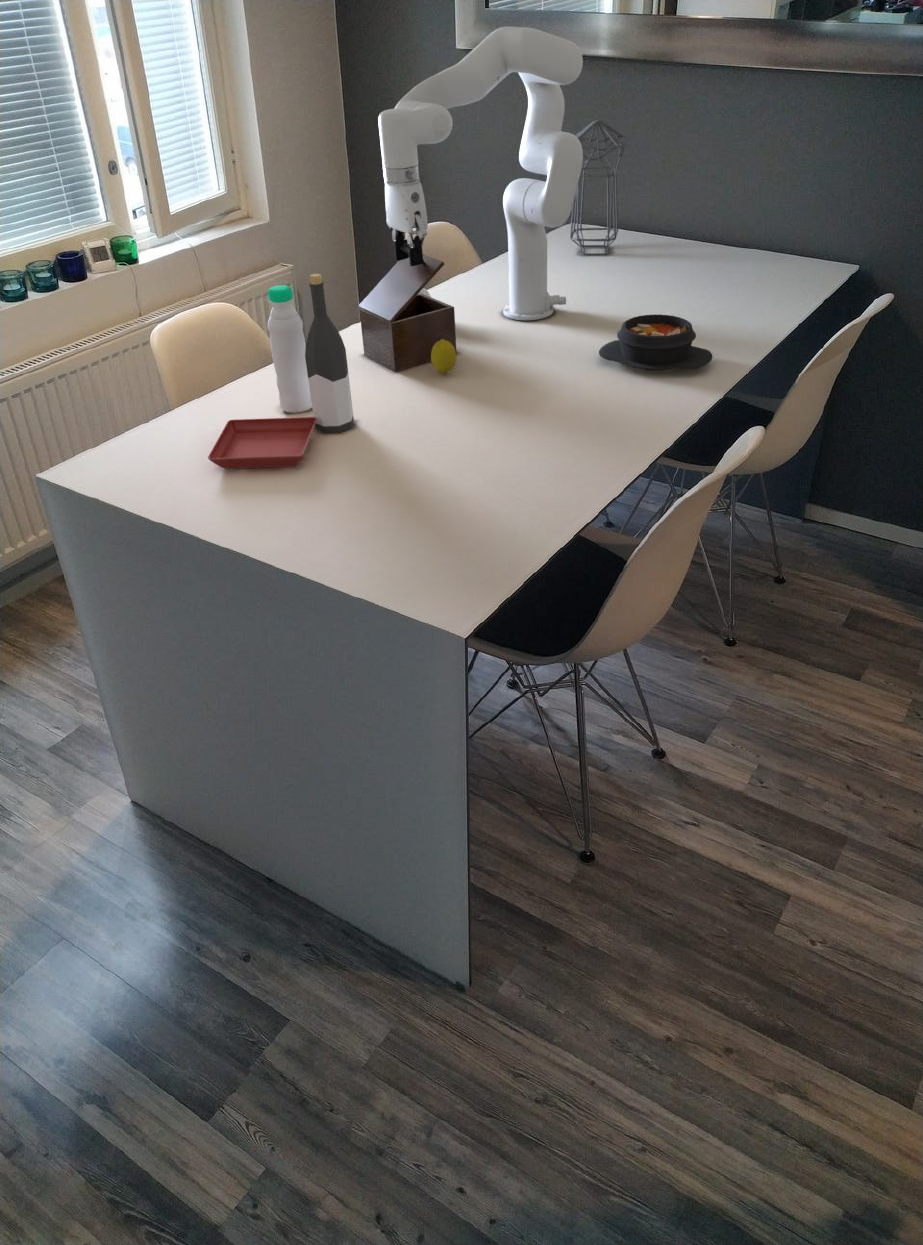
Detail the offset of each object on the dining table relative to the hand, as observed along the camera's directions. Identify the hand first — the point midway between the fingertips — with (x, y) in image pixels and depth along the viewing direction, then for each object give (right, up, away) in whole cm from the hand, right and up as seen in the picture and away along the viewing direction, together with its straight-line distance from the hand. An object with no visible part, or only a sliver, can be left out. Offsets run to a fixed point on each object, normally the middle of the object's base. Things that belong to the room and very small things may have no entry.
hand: (409, 261), depth 224 cm
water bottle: (-23, -35, -11) cm, 43 cm away
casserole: (+54, -23, 0) cm, 59 cm away
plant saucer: (-26, -47, -28) cm, 61 cm away
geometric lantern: (+51, +29, +74) cm, 95 cm away
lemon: (+8, -25, 0) cm, 26 cm away
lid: (-2, -5, +2) cm, 6 cm away
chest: (0, -18, +11) cm, 21 cm away
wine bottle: (-14, -41, -20) cm, 47 cm away
